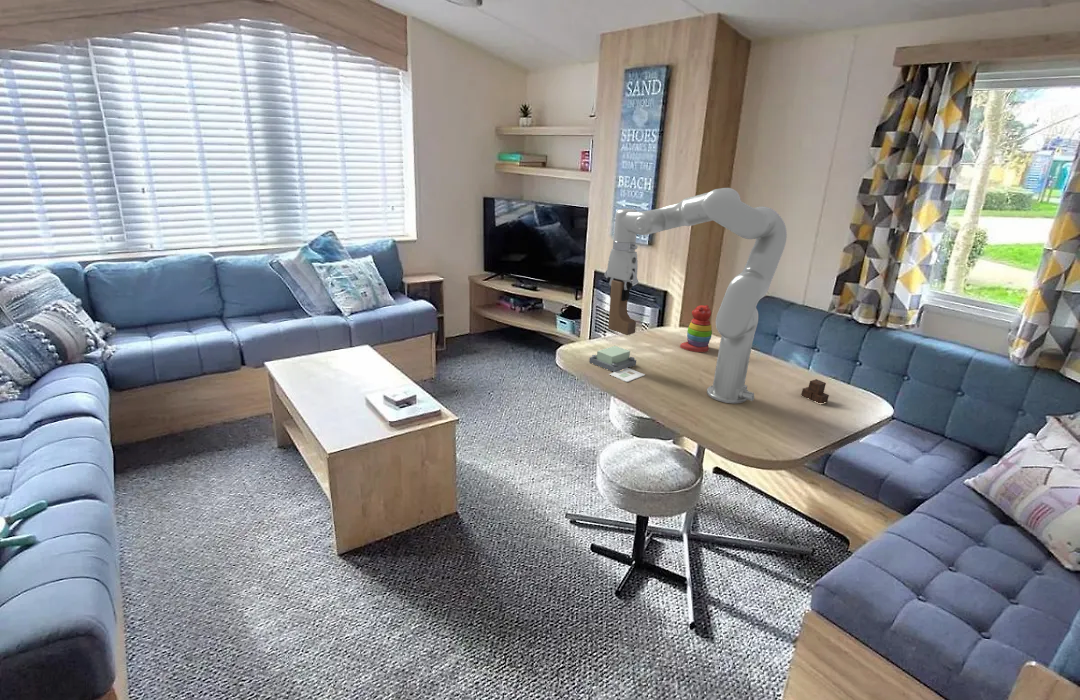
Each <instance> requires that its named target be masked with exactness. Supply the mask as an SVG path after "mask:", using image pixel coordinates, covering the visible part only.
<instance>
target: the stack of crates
mask: <svg viewBox="0 0 1080 700" xmlns="http://www.w3.org/2000/svg"><path fill="white" fill-rule="evenodd" d="M826 385H827V382H824V381H822V380H819V379H812V380H809V383H808V386H806V387H803V388H802V391H801V394H800V396H801V395H802V396H804V397H806V398H809V399H811V400H813V401H816V402H818V403H824V402H827V403H828V400H829V396H830V395H829V394H828V393H825V390H826V389H825V388H826ZM802 396H801V397H802ZM804 397H803V398H804ZM806 398H805V399H806ZM811 400H810V401H811ZM813 401H812V402H813Z"/></svg>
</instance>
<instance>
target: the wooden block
mask: <svg viewBox="0 0 1080 700" xmlns="http://www.w3.org/2000/svg"><path fill="white" fill-rule="evenodd" d="M627 285H628V283H627ZM623 289H624V285H623V281H622V280H618V279H615V280H612V282H611V296H610V295H609V299H610V300H609V313H608V315H609V316H608V326H607V328H608V330H611V331H612V332H613V331H614V332H617V333H619V334H622V335H625V336H630V335H632V334H635V333H636V327H637V321H636V320H635V319H632V318H631V317H630V314H629V313H628V301H629V299H628V300H626V301H622V300H621V298H622V290H623Z"/></svg>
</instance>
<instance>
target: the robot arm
mask: <svg viewBox="0 0 1080 700" xmlns="http://www.w3.org/2000/svg"><path fill="white" fill-rule="evenodd" d="M614 217H615V219H614V228H613V229H614V230H613V239H612V240H613V242H612V248H611V250H610V253H609V257H608V263H607V270H606V271H605V272H604V273H603V274H604V275H603V276H604V277H605V278H606V280H607V282H608V285H609V287H610V289H609V297H610V296H611V282H612V280H615V279H618V280H622V281H623V285H624V289H623V290H622V298H621V300H622V301H626V300H628V301H629V298H630V292H631V291H630V290H631V289H632V288H633V287H634V286H636V285H637V284H638V283H639V279H638V265H639V264H638V262H639V261H638V253H637V251H635V250H638V245H637V244H636V243H637V235H639V236H640V235H641V236H648V235H651V234H655V233H660V232H664V231H667V230H671V229H672V230H673V229H676V228H680V227H681V228H682V227H691V226H692V227H693V226H695V225H700V224H703V223H707V222H712V221H713V222H715V223H716V224H718V225H720V226H721V227H723V228H725V229H726V230H729V231H730V232H732V233H733V234H735V235H737V236H739V237H741V238H743V239H747V240H755V242H754V244H753V246H752V249H751V250H750V253H749V256H748V258H747V262H746V264H745V266H744V268H743V270H742V271H741V273H739V274H737V275H735V276H734V278H733V279H731V280H730V282H729V284H728V286H727V288H726V291H725V293H724V296H723V298H722V301H721V304H720V307H719V309H718V311H717V313H716V316H715V317H716V318H715V327H716V331H717V333H719V334H720V336H721V337H720V343H719V348H718V352H717V353H718V354H717V359H716V365H715V370H714V371H715V372H714V377H713V382H712V385H710V386H708V387H707V389H706V394H707V395H708V396H709V397H710V398H712V399H713V400H716V401H718V402H722V403H726V404H742V403H744V402H746V401H751V402H753V401H754V400H755V393H754V392H752V391H749V390H748V385H747V384H746V379H747V374H748V373H747V372H748V369H749V368H748V367H749V362H750V359H751V352H752V347H753V343H754V338H755V333H756V332H757V327H758V325H759V324H758V323H759V311H758V309H757V305H758V304H759V301H760V300H761V299H762V298H764V297H765V296H766V295H767V294H768V292H769V290H770V289H769V288H770V287H771V284H772V281H773V278H774V276H775V274H776V271H777V268H778V266H779V263H780V260H781V257H782V255H783V252H784V250H785V247H786V243H787V238H788V237H787V236H788V234H787V228H786V224H785V221H784V220H783V218H782V216H780V214H779V213H778V212H777V211H776V210H774V209H773V208H771V207H768V206H757V207H752V206H751V205H749V204H747V203H745V202H743V201H742V200H741V195H740V194H739V192H738V191H737V190H735V189H733V188H731V187H721V188H715V189H712V190H711V191H709V192H704V193H702V194H697V195H694V196H691V197H690V196H689V197H685V198H684V199H682V200H681V201H679V202H678V203H675V204H671V205H667V206H663V207H660V208H656V209H649V210H644V211H637V210H636V209H633V208H619V209H617V210H616V211H615V216H614ZM627 283H628V285H627Z"/></svg>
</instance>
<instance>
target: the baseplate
mask: <svg viewBox="0 0 1080 700" xmlns="http://www.w3.org/2000/svg"><path fill="white" fill-rule="evenodd" d="M596 352H597V353H596V354H592V355H591V356H590V357H589V361H588V362H590V363H589V364H591V363H593V364H592V365H594V364H595V365H594V366H596V365H598V366H597V367H599V366H600V368H601V367H603V368H602V369H604V368H605V369H604V370H606V369H608V370H607V371H609V370H610V371H609V372H611V371H613V372H616V371H619V370H622V369H625V368H628V367H630V368H632V367H635V366H636V365H637V360H636V359H635V357H633V356H630V355H631V350H629V349H627V348H626V349H625V348H623V347H620V346H617V345H613V346H609V347H606V348H603V349H600V350H597V351H596ZM631 366H632V367H631ZM613 372H612V373H613Z"/></svg>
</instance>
